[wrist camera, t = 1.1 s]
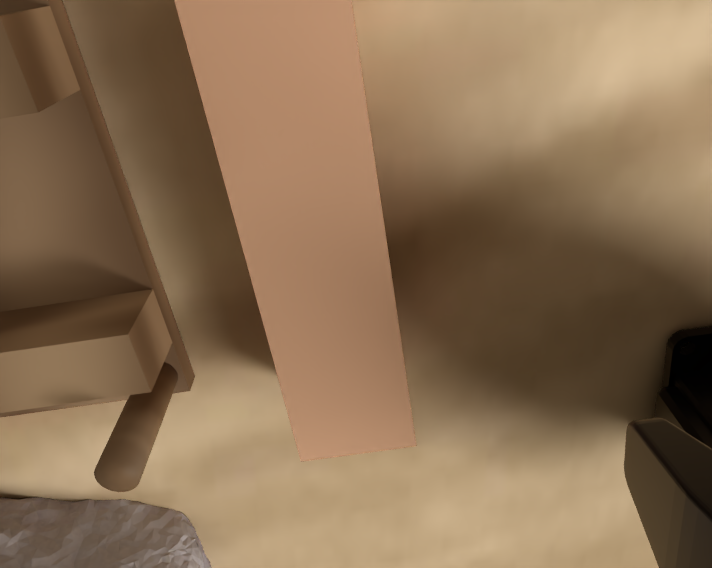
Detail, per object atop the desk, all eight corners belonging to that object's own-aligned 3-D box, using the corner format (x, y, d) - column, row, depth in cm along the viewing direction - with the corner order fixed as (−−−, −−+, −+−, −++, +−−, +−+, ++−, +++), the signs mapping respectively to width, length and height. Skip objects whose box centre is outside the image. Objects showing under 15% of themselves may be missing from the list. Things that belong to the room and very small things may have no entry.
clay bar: (197, -67, 15) (154, -71, 12) (336, -93, 15) (336, -105, 11) (307, 379, 22) (301, 461, 18) (403, 365, 22) (416, 446, 18)
